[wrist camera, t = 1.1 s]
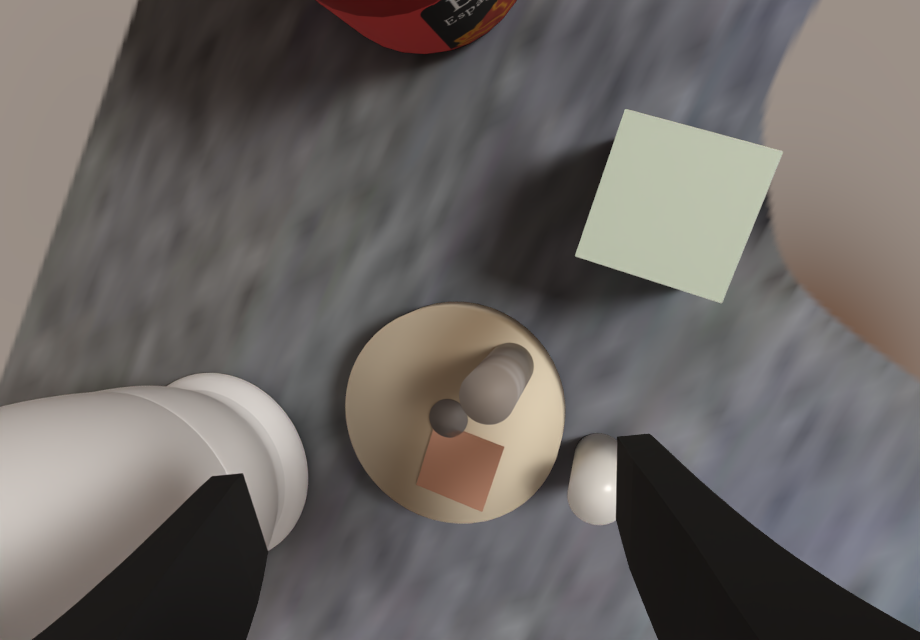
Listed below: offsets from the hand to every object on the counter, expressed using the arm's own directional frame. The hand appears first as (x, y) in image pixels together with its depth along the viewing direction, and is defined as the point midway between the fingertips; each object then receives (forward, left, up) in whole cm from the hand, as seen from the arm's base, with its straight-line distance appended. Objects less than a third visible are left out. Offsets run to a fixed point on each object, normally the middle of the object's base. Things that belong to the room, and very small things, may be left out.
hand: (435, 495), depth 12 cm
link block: (-3, -7, -11) cm, 14 cm away
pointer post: (-4, +2, -11) cm, 12 cm away
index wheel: (+2, +2, -11) cm, 12 cm away
